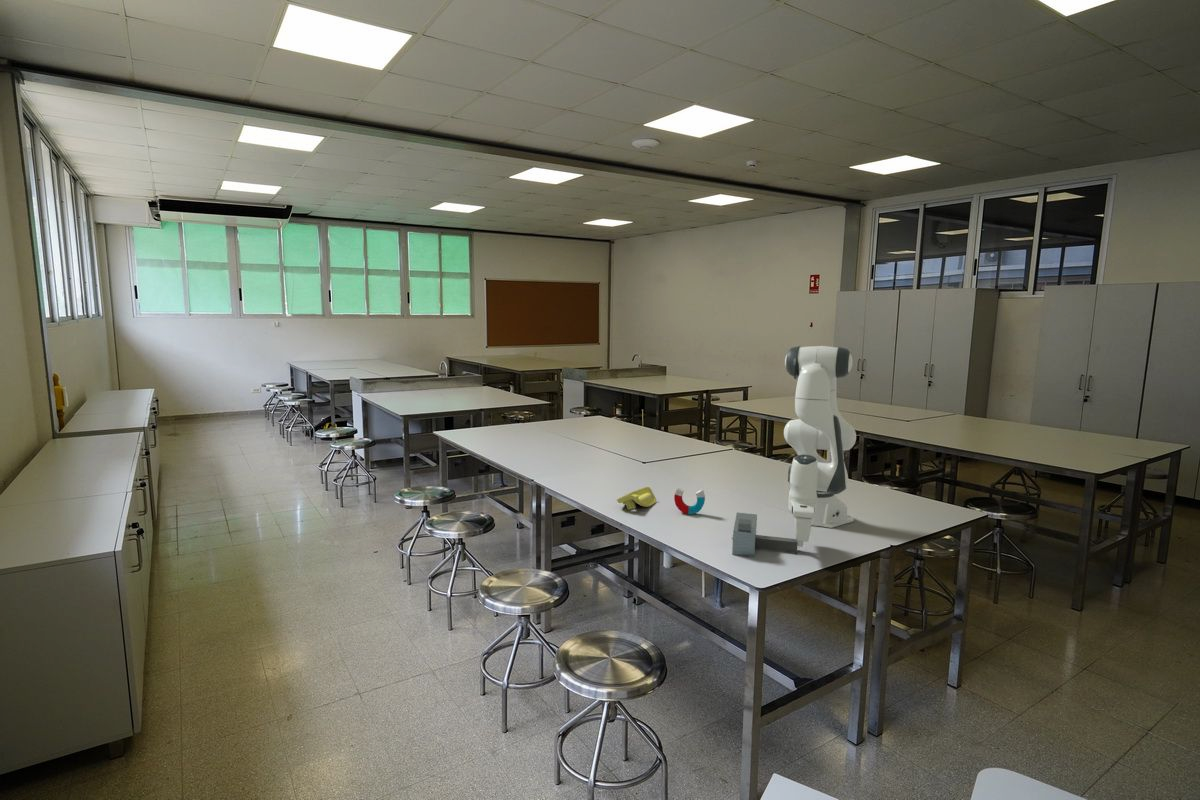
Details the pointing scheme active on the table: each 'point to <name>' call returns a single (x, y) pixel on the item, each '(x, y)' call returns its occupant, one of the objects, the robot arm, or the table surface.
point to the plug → (775, 543)
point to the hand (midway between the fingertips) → (799, 545)
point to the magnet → (686, 508)
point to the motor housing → (744, 534)
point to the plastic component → (638, 498)
